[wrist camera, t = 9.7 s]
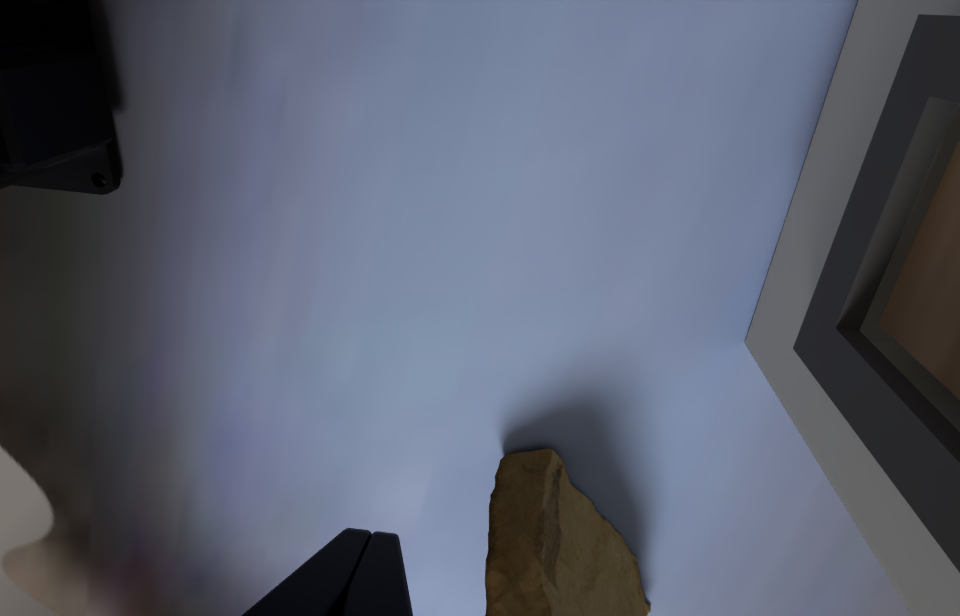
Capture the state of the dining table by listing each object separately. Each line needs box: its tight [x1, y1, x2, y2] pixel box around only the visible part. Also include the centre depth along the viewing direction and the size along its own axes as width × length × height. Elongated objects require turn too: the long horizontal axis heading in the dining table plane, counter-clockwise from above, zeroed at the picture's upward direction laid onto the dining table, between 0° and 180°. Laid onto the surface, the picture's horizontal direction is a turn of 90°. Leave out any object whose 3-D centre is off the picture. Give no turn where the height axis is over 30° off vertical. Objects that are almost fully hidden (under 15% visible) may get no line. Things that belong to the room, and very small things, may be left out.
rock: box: [485, 449, 651, 616], centre depth 24 cm, size 11×9×10 cm
